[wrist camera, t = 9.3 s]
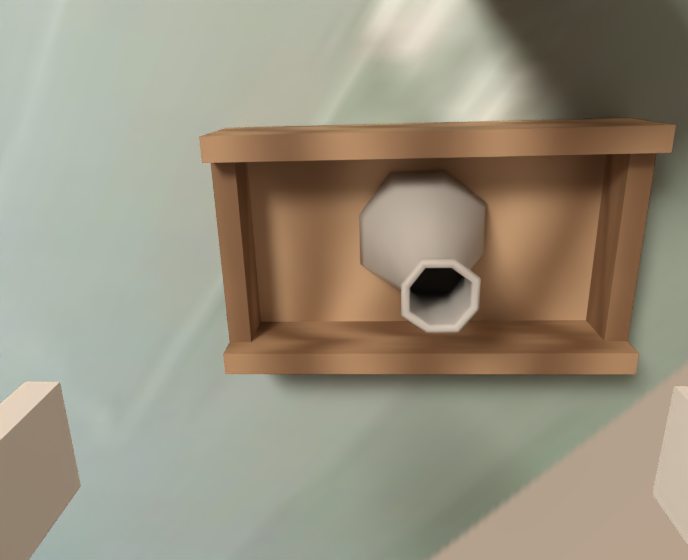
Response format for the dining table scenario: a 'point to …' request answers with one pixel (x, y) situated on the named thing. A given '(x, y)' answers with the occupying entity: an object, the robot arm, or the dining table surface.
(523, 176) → the wooden tray
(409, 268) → the flask
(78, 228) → the dining table surface
